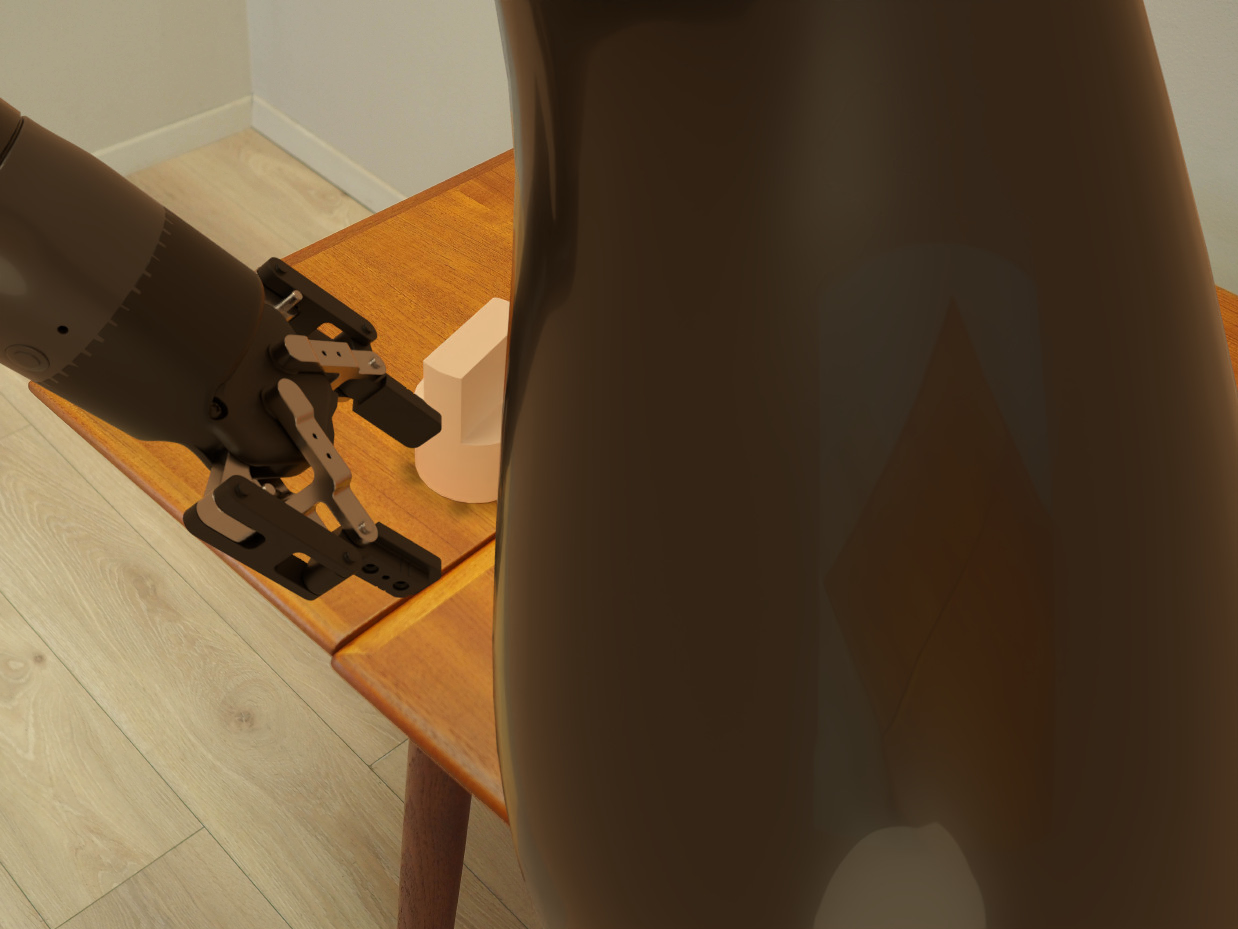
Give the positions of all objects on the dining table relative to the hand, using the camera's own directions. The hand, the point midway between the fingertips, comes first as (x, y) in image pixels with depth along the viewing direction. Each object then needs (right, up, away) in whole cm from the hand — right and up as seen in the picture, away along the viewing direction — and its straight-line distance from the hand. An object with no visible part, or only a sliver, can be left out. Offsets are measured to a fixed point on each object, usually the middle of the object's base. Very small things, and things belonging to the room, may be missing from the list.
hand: (428, 502), depth 46 cm
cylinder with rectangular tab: (-3, +2, +34) cm, 34 cm away
